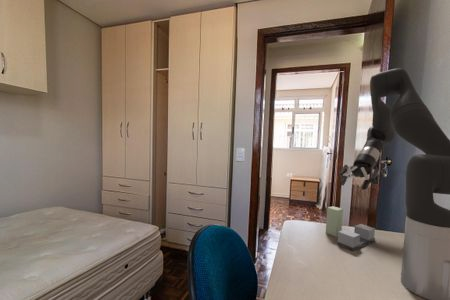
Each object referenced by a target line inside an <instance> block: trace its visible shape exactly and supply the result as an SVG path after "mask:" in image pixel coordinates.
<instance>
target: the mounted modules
mask: <svg viewBox="0 0 450 300" xmlns="http://www.w3.org/2000/svg"><path fill="white" fill-rule="evenodd" d="M375 232H376V228H375V227H371V226H369V225H366V224H363V223H359V224H357V225H354V231H352V230H348V229H342V231H339V232H338V236H337V241H338V242H340V243H342V244H345V245H347V246H349V247H352V248H353V247H356V246H358V245H359V242H360V237H361V238H364V239H366V240H371V239H373V238H375V234H376V233H375Z"/></svg>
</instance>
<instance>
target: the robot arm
mask: <svg viewBox="0 0 450 300" xmlns="http://www.w3.org/2000/svg"><path fill="white" fill-rule="evenodd" d="M369 89H370V90H369V92H370V100H371V108H372V109H371V110H372V120H371V121H372V123H371V124H372V125H371V126H370V127H368V129H367V135H366V141H365V142H364V145H363V147H362V148H361V150H360V151H359V153H358V154H357V156H356V158H355V160H354V161H353V164H352V165H350V166H349V165H348V164H344V166H343V167H342V168H341V170H340V171H339V176H340V178H341V179H340V180H339V183H340V185H341V186H344V185H345V184H346V182H347V180H348V179H349V178H350V179H351V178H354V177H355V178H364V181H363V183H362V184H361V189H362V191H365V190H366V189H368V188H369V185H370V184H376V183H377V182H378V180H379V176H380V174H381V172H380V169H379V168H375V166H376V164H377V162H378V161H379V157H380V155H381V154H382V153H381V152H382V151H383V148H384V144H389V143H391V142H392V141H393V140H394V139H395V135H396V134H397V135H398V136H399V137H400V138H402V139H403V140H405V141H406V142H408V144H410V145H412V146H414V147H416V148H417V149H418V150H420V151H421V152H423V153H421V154H415V155H413V156H412V157H410V159H409V160H408V163H407V165H406V171H405V208H406V214H405V228H404V237H403V250H402V261H401V262H402V263H401V272H400V282H401V284H402V286H403V287H404V288H406V289H407V290H408V291H409V292H412V293H413V294H415V295H417V296H419V297H421V298H424V299H426V300H450V209H448V208H445V207H443V206H441V205H438V204H437V203H436V202H435V201H434V200H435V199H434V194H436V195H437V194H438V195H439V194H441V195H450V138H448V136H447V135H446V134H445V132H444V131H443V130H442V129H443V128H441V127H440V125H439V124H438V122H437V121H436V120H435V118H434V116H433V113H431V111H430V110H429V108H428V106H427V105H426V104H425V102H424V101H423V100H422V99H421V97H420V95H419V94H418V93H417V91H416V88H415V86H414V84H413V82H412V79H411V77H410V75H409V73H408V71H406V70H405V68H402V67H398V68H393V69H389V70H384V71H383V70H382V71H381V72H377V73H374V74H372V75H371V77H370V80H369ZM396 95H399V97H398V98H397V99H396V101H395V102H394V104H393V106H392V108H391V107H390V106H389V105H388V104H386V103H385V102H384V101H383V100H382V98H386V97H391V96H396ZM395 132H396V133H395ZM370 174H372V175H371V177H369V175H370Z"/></svg>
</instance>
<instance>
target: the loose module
mask: <svg viewBox="0 0 450 300" xmlns="http://www.w3.org/2000/svg"><path fill="white" fill-rule="evenodd" d="M343 216H344V208H341V207H337V206H334V205H333V206H328V207H327V208H326V223H325V224H326V225H325V233H326V234H328V235H330V236H331V235H332V236H333V237H334V238H335V237H338V232H339V231H342V230H343V229H342V228H343Z"/></svg>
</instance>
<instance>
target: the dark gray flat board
mask: <svg viewBox="0 0 450 300" xmlns="http://www.w3.org/2000/svg"><path fill="white" fill-rule="evenodd" d="M375 241H376V238H375V237H374V238H373V239H371V240H366V239H364V238H361V237H360V242H359V245H358V246H356V247H353V248H352V247H349V246H347V245H345V244H342V243H340V242H338V240H337V241H336V245H338V246H340V247H342V248H344V249H348V250H350V251H352V252H355V251H357V250H359V249H361V248H363V247H364V246H365V247H366V246H367V245H369V244H371V243H373V242H375Z"/></svg>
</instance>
